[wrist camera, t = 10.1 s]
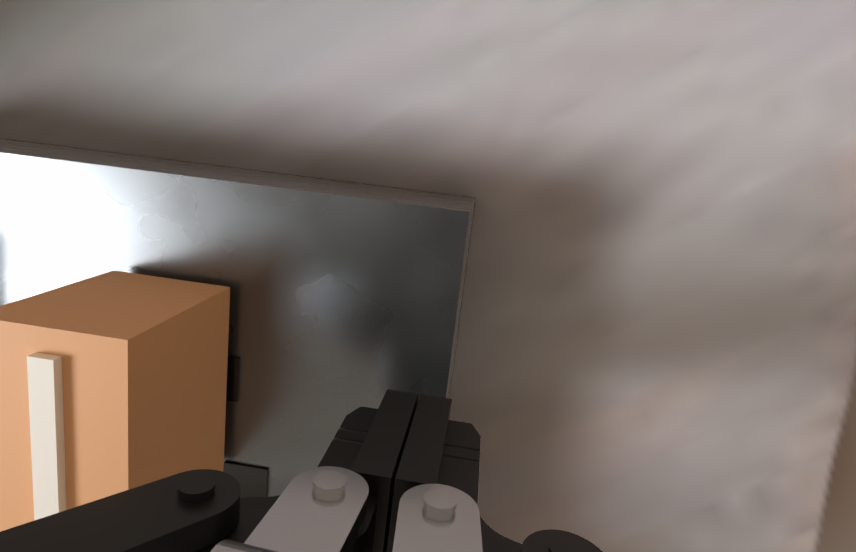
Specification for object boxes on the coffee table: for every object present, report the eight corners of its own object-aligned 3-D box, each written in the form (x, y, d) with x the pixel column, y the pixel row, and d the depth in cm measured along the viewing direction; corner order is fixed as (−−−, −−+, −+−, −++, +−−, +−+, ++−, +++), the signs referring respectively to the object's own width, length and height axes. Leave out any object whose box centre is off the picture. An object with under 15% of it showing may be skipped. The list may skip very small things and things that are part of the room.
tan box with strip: (115, 452, 15) (-23, 562, 11) (113, 270, 14) (-41, 319, 10) (223, 471, 15) (122, 590, 11) (230, 287, 14) (120, 343, 10)
